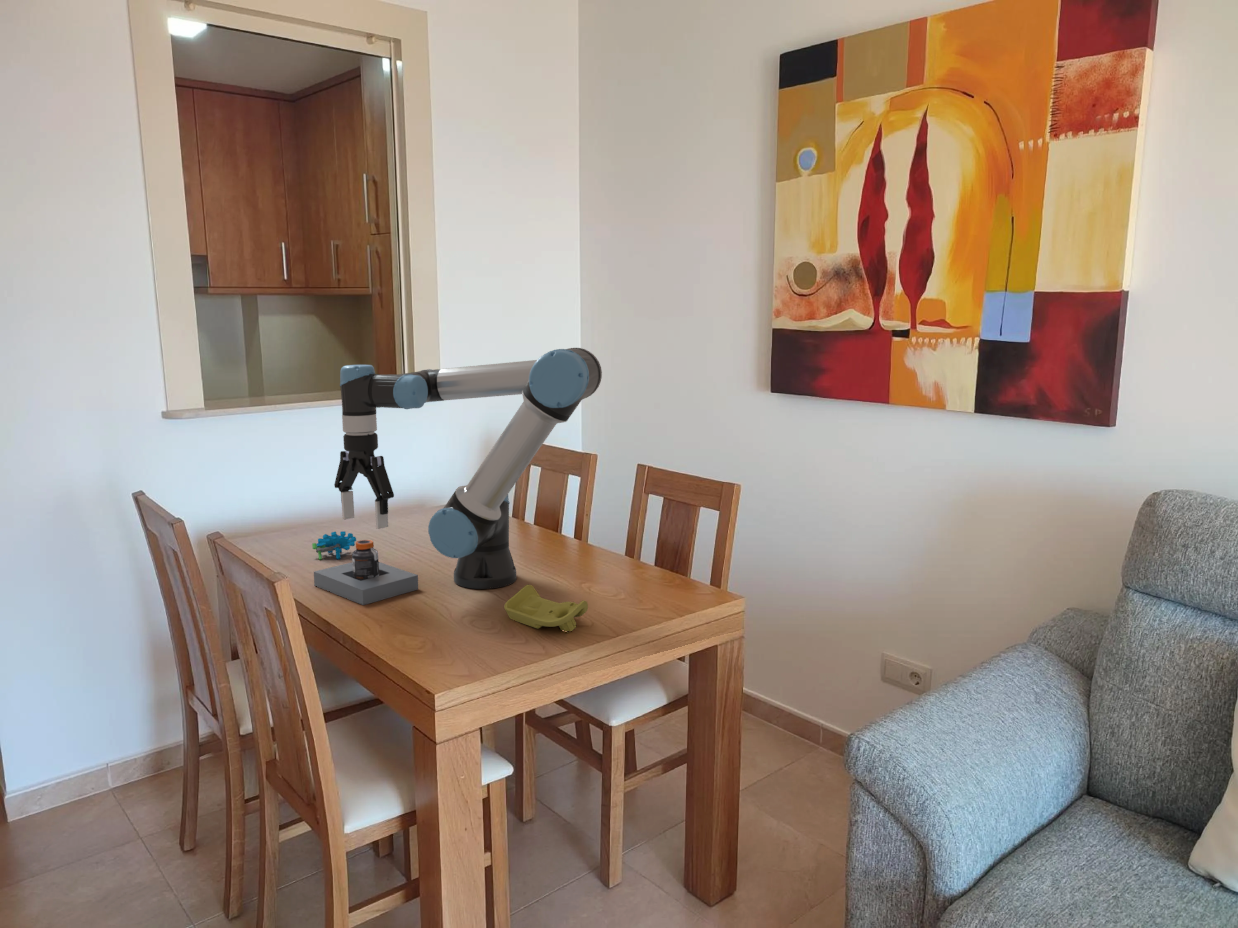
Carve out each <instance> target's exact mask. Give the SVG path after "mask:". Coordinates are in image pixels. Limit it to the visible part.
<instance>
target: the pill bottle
mask: <svg viewBox="0 0 1238 928" xmlns="http://www.w3.org/2000/svg"><path fill="white" fill-rule="evenodd" d="M374 547H375V546H374V541H373V540H371V539H361V540H358V541H357V540H356V541H355V550H353V552H352V554H351V558H352V561H351V562H352V564H353V578H354V579H357V580H360V581H362V580H366V579H370V578H373V577H377V576H379V562H380V561H379V552H378V550H377V549H376V548H374Z"/></svg>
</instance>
